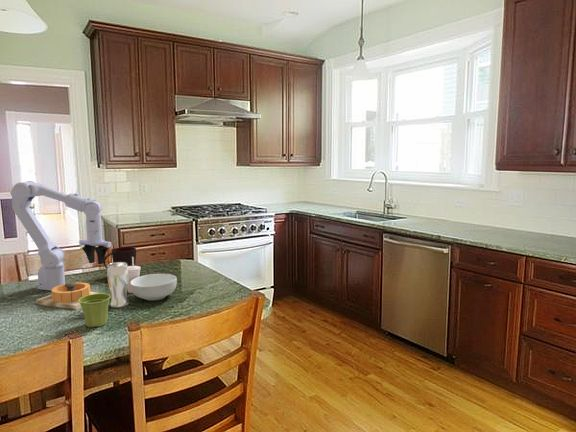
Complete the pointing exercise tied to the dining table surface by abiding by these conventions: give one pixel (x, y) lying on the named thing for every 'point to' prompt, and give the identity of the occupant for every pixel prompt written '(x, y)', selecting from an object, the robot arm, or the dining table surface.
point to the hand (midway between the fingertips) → (96, 263)
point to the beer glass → (118, 283)
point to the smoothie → (132, 274)
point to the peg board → (69, 305)
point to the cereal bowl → (153, 286)
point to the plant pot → (95, 309)
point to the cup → (122, 255)
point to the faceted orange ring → (70, 292)
